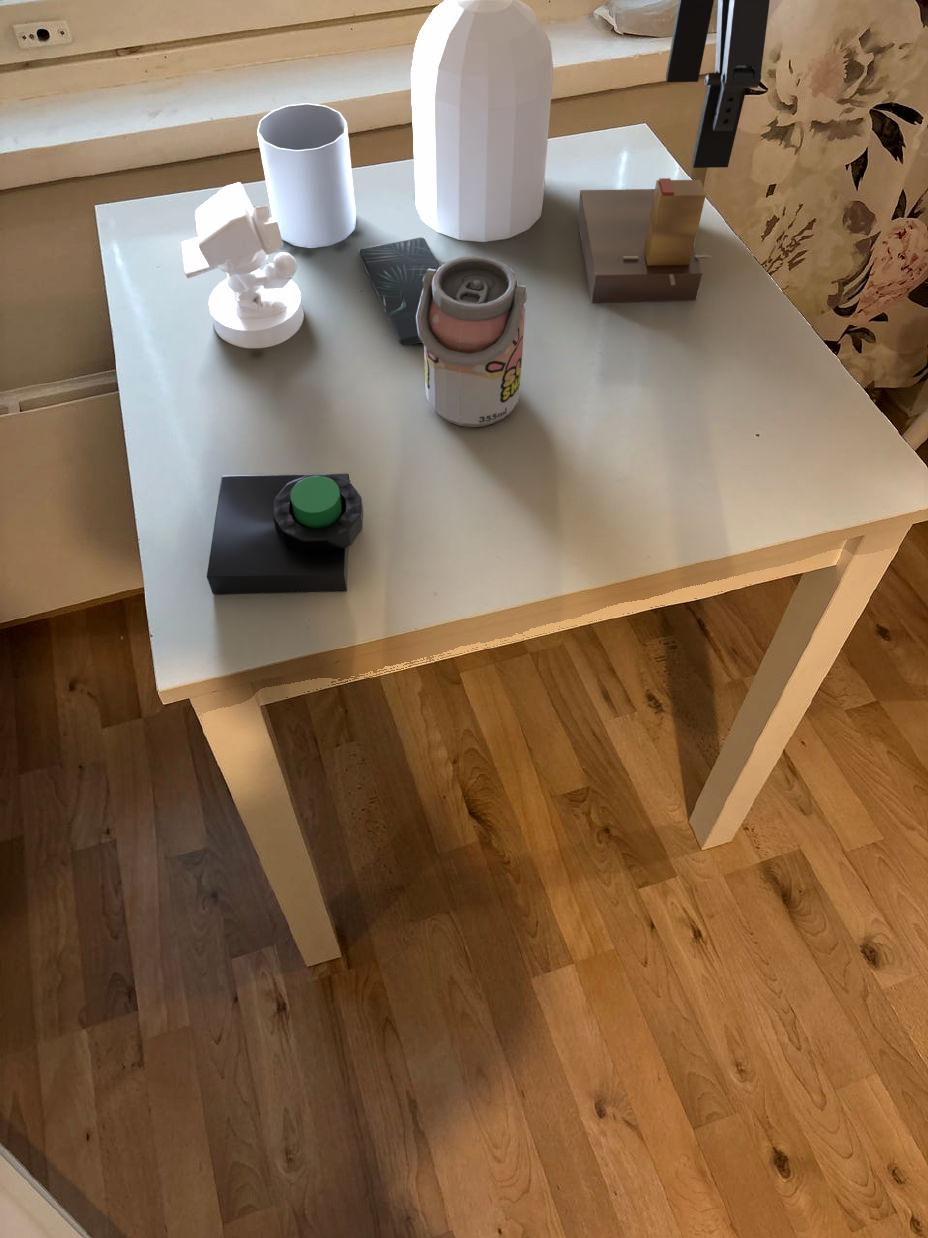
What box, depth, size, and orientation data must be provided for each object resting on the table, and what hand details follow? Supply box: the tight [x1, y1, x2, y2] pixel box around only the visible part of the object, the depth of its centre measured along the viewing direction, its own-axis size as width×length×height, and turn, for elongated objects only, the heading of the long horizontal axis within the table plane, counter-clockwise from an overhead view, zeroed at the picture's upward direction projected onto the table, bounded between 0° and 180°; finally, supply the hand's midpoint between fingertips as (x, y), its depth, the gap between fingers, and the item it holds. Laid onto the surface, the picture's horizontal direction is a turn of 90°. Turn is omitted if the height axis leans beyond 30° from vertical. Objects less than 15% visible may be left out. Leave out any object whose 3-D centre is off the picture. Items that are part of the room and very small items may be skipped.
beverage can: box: [416, 255, 528, 428], centre depth 78 cm, size 9×8×12 cm
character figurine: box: [181, 182, 305, 349], centre depth 84 cm, size 9×10×12 cm
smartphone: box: [358, 236, 440, 347], centre depth 90 cm, size 7×1×15 cm
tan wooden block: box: [644, 177, 706, 266], centre depth 87 cm, size 4×2×7 cm, turn 92°
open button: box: [291, 476, 342, 528], centre depth 70 cm, size 4×4×2 cm
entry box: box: [206, 472, 364, 595], centre depth 72 cm, size 10×11×4 cm
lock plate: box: [576, 188, 711, 303], centre depth 93 cm, size 16×11×3 cm
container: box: [410, 0, 555, 243], centre depth 91 cm, size 13×13×20 cm
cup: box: [256, 103, 357, 249], centre depth 93 cm, size 8×8×10 cm
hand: (694, 120), depth 78 cm, fingers open, 13 cm apart
